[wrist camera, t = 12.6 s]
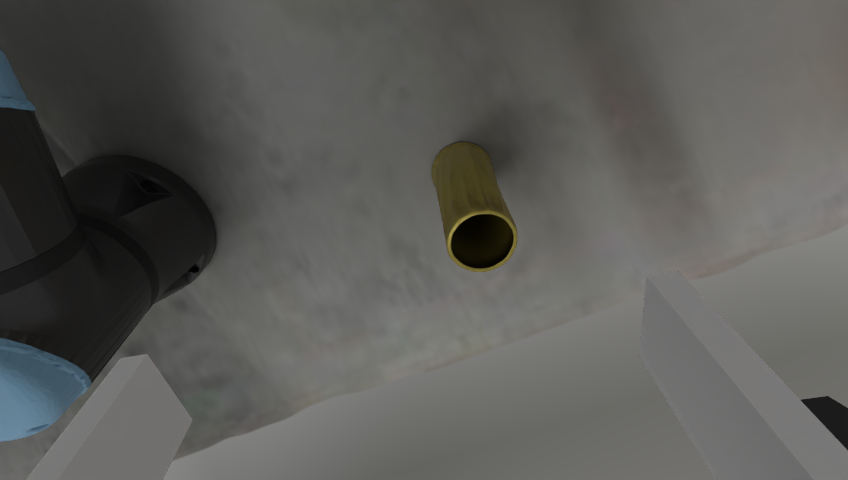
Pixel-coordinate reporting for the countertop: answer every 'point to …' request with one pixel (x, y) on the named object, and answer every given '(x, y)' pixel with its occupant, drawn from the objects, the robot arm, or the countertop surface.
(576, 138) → the countertop surface
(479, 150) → the vase
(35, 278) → the robot arm
